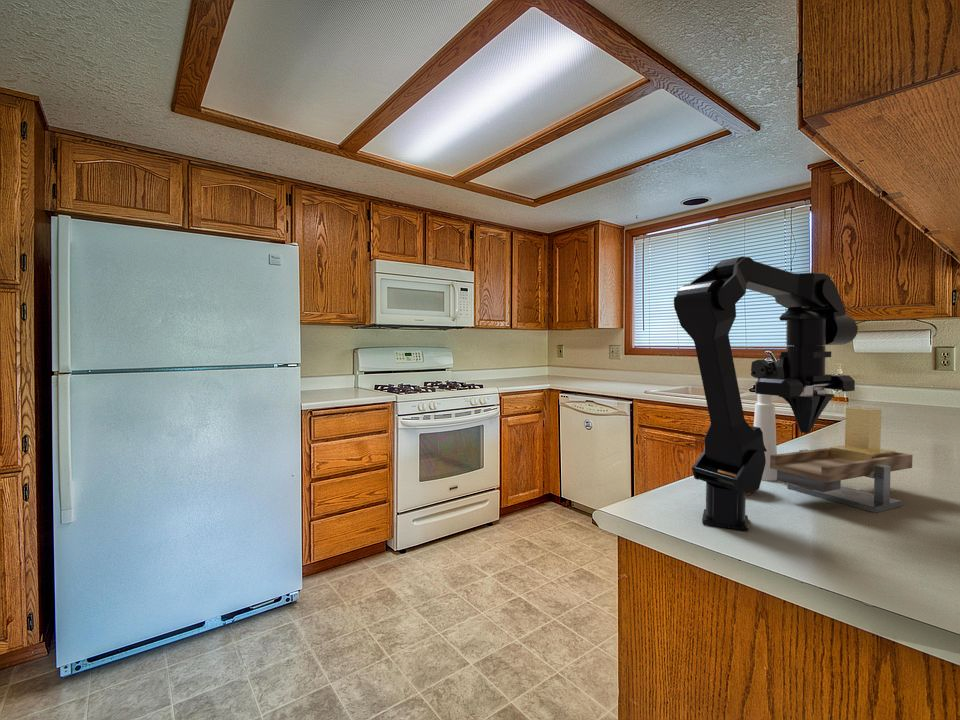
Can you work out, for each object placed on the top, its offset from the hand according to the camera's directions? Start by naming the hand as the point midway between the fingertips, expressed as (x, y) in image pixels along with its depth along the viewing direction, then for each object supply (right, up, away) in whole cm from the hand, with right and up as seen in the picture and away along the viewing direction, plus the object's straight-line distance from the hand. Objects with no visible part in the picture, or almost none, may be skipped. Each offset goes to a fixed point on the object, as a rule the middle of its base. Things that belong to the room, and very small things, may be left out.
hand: (804, 432), depth 83 cm
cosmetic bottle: (+4, -13, +18) cm, 22 cm away
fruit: (-7, -13, +9) cm, 17 cm away
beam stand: (+10, -13, +5) cm, 17 cm away
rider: (+16, -6, +8) cm, 19 cm away
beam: (+10, -9, +4) cm, 14 cm away
